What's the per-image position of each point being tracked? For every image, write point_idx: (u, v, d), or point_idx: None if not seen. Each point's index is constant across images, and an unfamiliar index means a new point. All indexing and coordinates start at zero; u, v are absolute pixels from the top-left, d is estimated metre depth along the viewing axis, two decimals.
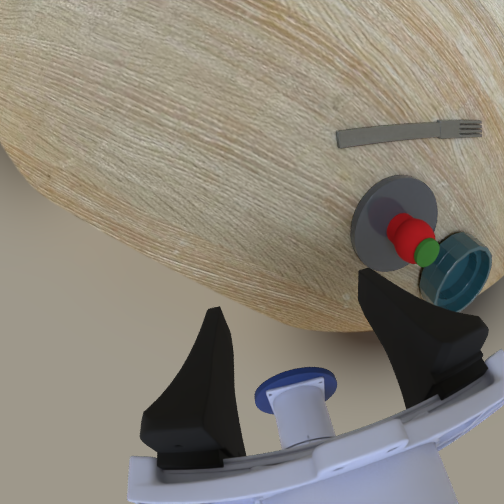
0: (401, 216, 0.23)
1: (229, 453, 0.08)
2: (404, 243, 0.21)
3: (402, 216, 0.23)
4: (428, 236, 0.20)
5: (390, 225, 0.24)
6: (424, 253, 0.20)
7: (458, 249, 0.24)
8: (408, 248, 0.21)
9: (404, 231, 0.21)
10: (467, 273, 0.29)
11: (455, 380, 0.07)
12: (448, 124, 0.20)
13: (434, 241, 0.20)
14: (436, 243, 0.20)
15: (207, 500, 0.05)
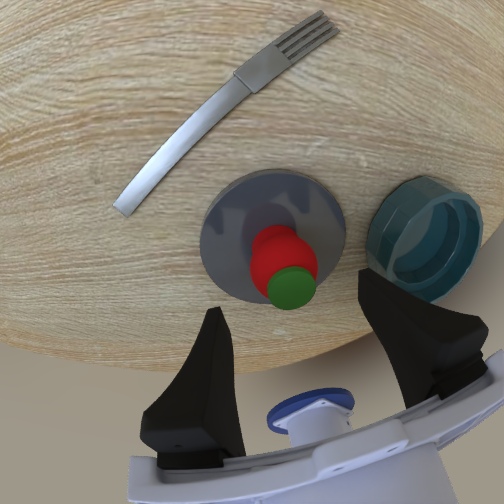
0: (257, 239, 0.18)
1: (229, 453, 0.08)
2: (256, 287, 0.16)
3: (258, 237, 0.18)
4: (279, 267, 0.15)
5: None
6: (282, 295, 0.15)
7: (395, 222, 0.17)
8: (263, 292, 0.16)
9: (250, 270, 0.16)
10: (452, 226, 0.19)
11: (455, 380, 0.07)
12: (253, 65, 0.13)
13: (287, 274, 0.14)
14: (294, 274, 0.14)
15: (207, 500, 0.05)
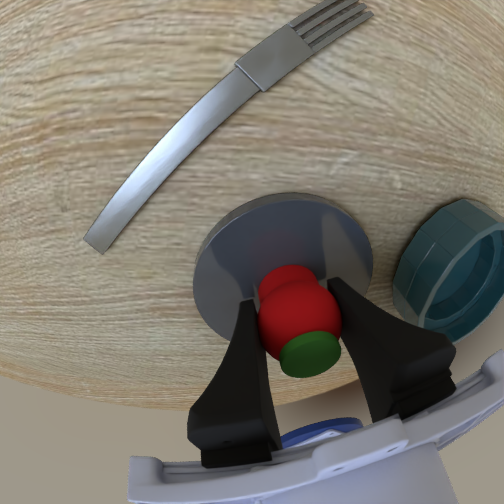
0: (266, 283, 0.14)
1: (275, 446, 0.08)
2: (265, 348, 0.12)
3: (267, 281, 0.14)
4: (296, 332, 0.11)
5: None
6: (299, 364, 0.11)
7: (434, 260, 0.13)
8: (273, 356, 0.12)
9: None
10: (485, 254, 0.16)
11: (417, 400, 0.07)
12: (261, 53, 0.09)
13: (307, 343, 0.10)
14: (316, 342, 0.10)
15: (207, 500, 0.05)
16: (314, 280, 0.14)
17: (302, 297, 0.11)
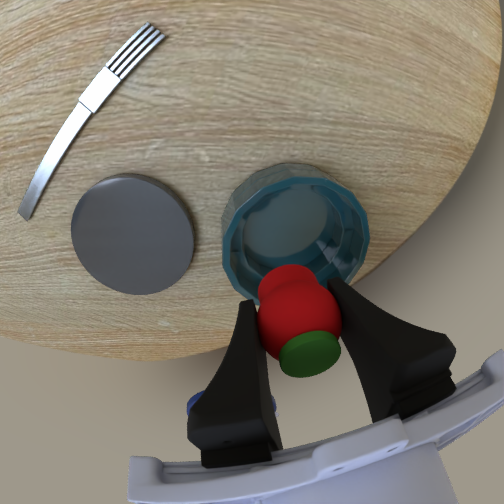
0: (265, 283, 0.14)
1: (275, 446, 0.08)
2: (264, 348, 0.12)
3: (267, 281, 0.14)
4: (296, 331, 0.11)
5: (259, 300, 0.15)
6: (298, 364, 0.11)
7: (229, 215, 0.18)
8: (272, 356, 0.12)
9: None
10: (336, 218, 0.20)
11: (417, 400, 0.07)
12: (91, 89, 0.14)
13: (306, 342, 0.10)
14: (315, 342, 0.10)
15: (207, 500, 0.05)
16: (314, 280, 0.14)
17: (302, 297, 0.11)
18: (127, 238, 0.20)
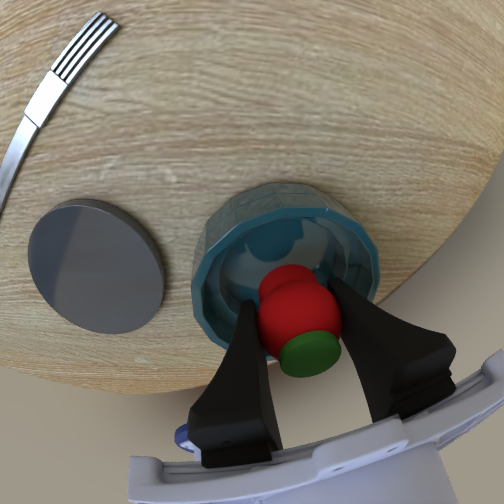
0: (266, 283, 0.14)
1: (275, 446, 0.08)
2: (264, 348, 0.12)
3: (267, 280, 0.14)
4: (296, 331, 0.11)
5: (259, 300, 0.15)
6: (298, 364, 0.11)
7: (199, 255, 0.14)
8: (273, 356, 0.12)
9: None
10: (339, 250, 0.16)
11: (417, 400, 0.07)
12: (35, 99, 0.10)
13: (306, 342, 0.10)
14: (316, 342, 0.10)
15: (207, 500, 0.05)
16: (314, 280, 0.14)
17: (302, 296, 0.11)
18: (87, 275, 0.16)
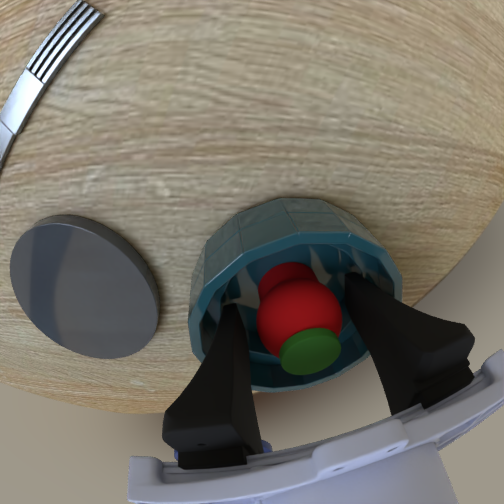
0: (265, 281, 0.14)
1: (251, 450, 0.08)
2: (264, 345, 0.12)
3: (267, 278, 0.14)
4: (296, 328, 0.11)
5: (259, 298, 0.15)
6: (298, 361, 0.11)
7: (197, 285, 0.11)
8: (273, 353, 0.12)
9: (257, 325, 0.12)
10: None
11: (439, 389, 0.07)
12: (10, 102, 0.08)
13: (306, 339, 0.10)
14: (315, 339, 0.10)
15: (207, 500, 0.05)
16: (314, 277, 0.14)
17: (302, 294, 0.12)
18: (74, 298, 0.14)
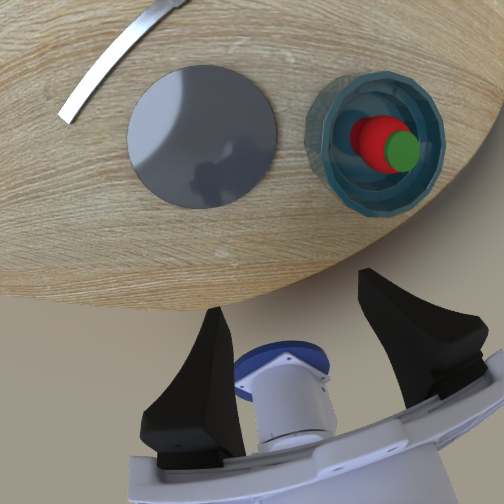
0: (357, 124, 0.17)
1: (229, 453, 0.08)
2: (368, 154, 0.16)
3: (357, 123, 0.17)
4: (392, 131, 0.14)
5: (351, 141, 0.18)
6: (397, 153, 0.14)
7: (325, 103, 0.15)
8: (376, 157, 0.16)
9: (361, 140, 0.16)
10: (410, 131, 0.18)
11: (455, 380, 0.07)
12: None
13: (401, 132, 0.14)
14: (406, 133, 0.14)
15: (207, 500, 0.05)
16: None
17: (389, 117, 0.15)
18: (200, 133, 0.17)
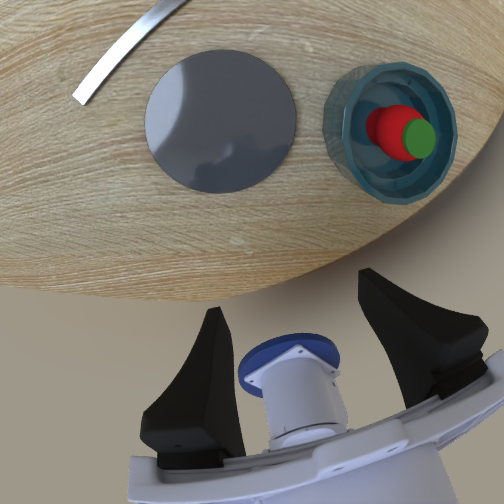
0: (373, 113, 0.17)
1: (229, 453, 0.08)
2: (386, 141, 0.16)
3: (374, 112, 0.17)
4: (409, 118, 0.14)
5: (367, 129, 0.18)
6: (415, 140, 0.14)
7: (345, 90, 0.15)
8: (394, 144, 0.15)
9: (379, 127, 0.16)
10: None
11: (455, 380, 0.07)
12: None
13: (418, 120, 0.13)
14: (423, 121, 0.14)
15: (207, 500, 0.05)
16: None
17: (405, 106, 0.15)
18: (220, 117, 0.17)
